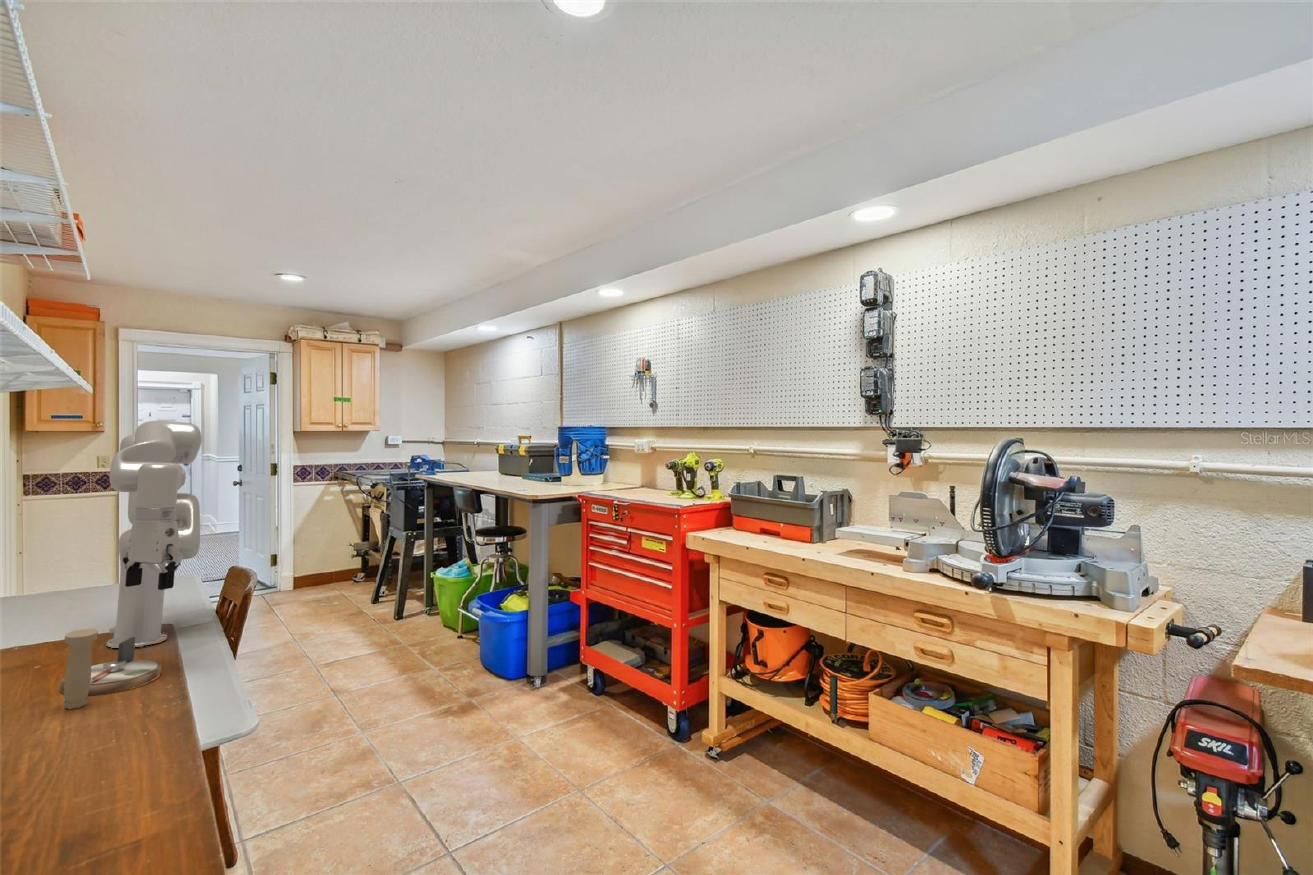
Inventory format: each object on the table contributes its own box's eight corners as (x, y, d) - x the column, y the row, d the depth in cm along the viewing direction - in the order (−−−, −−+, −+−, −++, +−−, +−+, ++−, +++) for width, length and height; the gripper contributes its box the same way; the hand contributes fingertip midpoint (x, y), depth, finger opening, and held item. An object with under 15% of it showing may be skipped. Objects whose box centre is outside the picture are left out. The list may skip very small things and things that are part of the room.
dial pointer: (103, 681, 128) (105, 656, 129) (83, 682, 127) (85, 657, 128) (140, 659, 142) (142, 637, 142) (122, 660, 141) (124, 637, 141)
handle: (55, 715, 117) (62, 638, 118) (62, 703, 122) (68, 630, 123) (89, 709, 120) (95, 635, 121) (94, 699, 125) (100, 627, 126)
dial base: (136, 693, 129) (137, 681, 129) (39, 698, 124) (40, 686, 124) (175, 666, 145) (176, 656, 145) (90, 670, 140) (91, 660, 141)
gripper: (199, 515, 143) (194, 587, 142) (142, 512, 147) (137, 581, 146) (168, 518, 136) (162, 593, 135) (109, 514, 139) (103, 587, 138)
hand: (149, 587), depth 140 cm, fingers open, 9 cm apart
